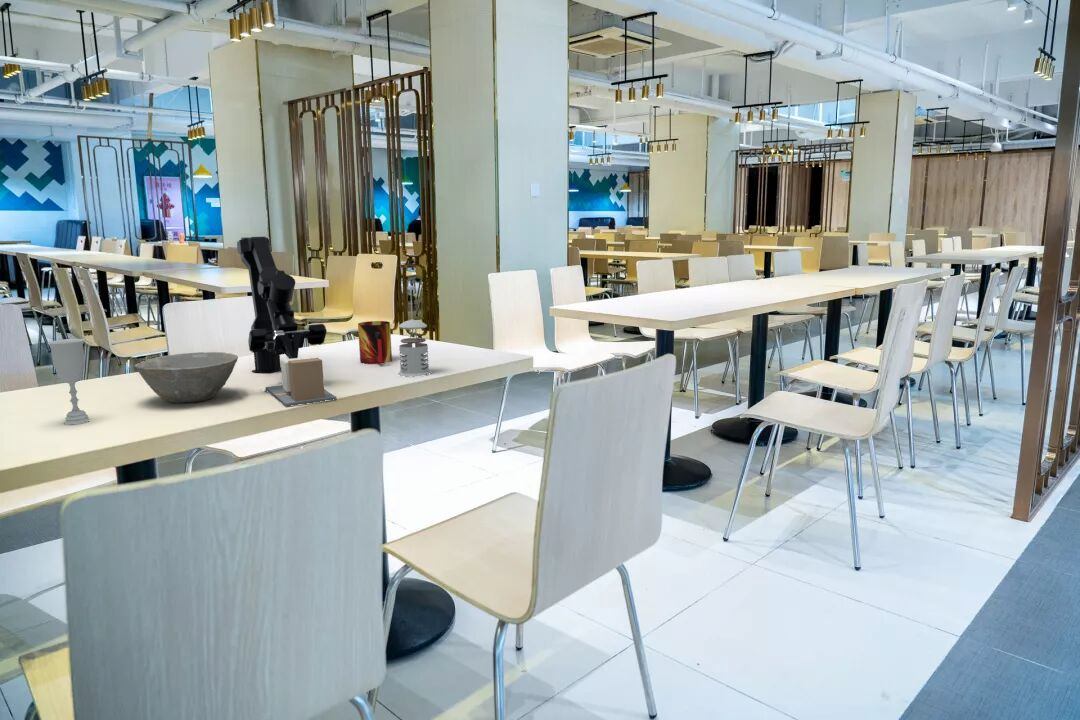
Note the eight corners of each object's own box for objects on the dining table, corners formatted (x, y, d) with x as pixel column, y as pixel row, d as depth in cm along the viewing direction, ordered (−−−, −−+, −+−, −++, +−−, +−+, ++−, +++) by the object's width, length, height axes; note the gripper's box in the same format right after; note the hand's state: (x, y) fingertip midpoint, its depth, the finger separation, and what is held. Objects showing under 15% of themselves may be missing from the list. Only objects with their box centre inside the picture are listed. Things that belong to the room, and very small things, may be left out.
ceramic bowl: (143, 395, 189) (138, 356, 188) (240, 386, 198) (236, 349, 196) (134, 415, 169) (129, 372, 168) (242, 404, 178) (239, 363, 176)
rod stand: (265, 390, 193) (262, 352, 191) (312, 384, 199) (309, 347, 197) (285, 407, 174) (282, 365, 172) (336, 400, 180) (333, 359, 179)
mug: (380, 367, 221) (378, 327, 219) (354, 361, 230) (351, 323, 228) (406, 362, 228) (404, 323, 226) (380, 357, 237) (377, 320, 235)
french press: (396, 377, 205) (391, 287, 201) (397, 369, 217) (393, 283, 212) (432, 376, 207) (428, 286, 202) (431, 368, 218) (428, 282, 213)
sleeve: (282, 388, 186) (280, 359, 185) (311, 384, 190) (309, 356, 188) (287, 391, 182) (285, 362, 180) (317, 387, 185) (315, 359, 184)
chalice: (70, 418, 168) (59, 339, 164) (101, 416, 168) (91, 338, 165) (51, 426, 160) (40, 344, 157) (84, 425, 161) (73, 343, 158)
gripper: (313, 331, 205) (327, 377, 197) (241, 337, 195) (253, 385, 188) (319, 305, 197) (334, 351, 189) (244, 310, 187) (257, 359, 180)
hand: (295, 363), depth 187 cm, fingers closed, pressing on sleeve
